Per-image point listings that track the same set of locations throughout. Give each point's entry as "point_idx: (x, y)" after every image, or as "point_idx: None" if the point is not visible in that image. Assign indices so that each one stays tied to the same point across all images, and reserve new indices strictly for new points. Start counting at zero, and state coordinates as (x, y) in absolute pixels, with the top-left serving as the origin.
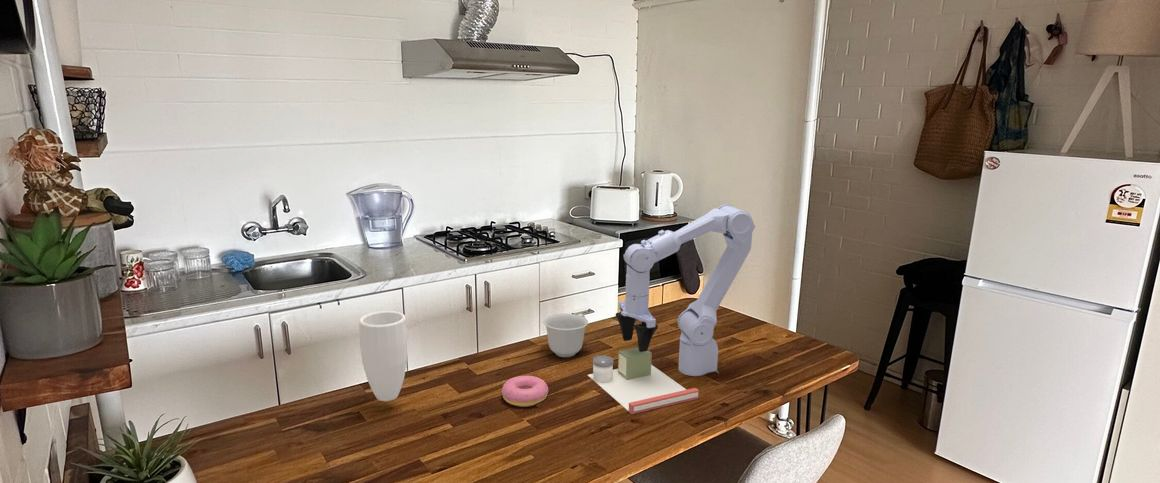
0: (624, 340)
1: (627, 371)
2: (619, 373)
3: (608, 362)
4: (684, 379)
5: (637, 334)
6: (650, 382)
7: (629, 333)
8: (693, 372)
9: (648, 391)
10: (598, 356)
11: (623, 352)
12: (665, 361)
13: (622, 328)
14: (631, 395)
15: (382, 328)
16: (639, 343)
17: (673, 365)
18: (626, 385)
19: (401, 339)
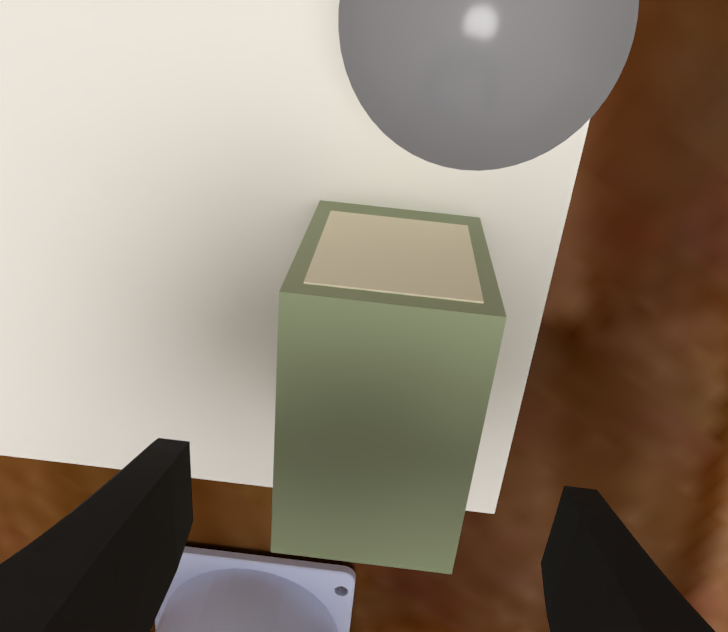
0: (567, 489)
1: (306, 232)
2: (451, 217)
3: (356, 31)
4: (194, 538)
5: (20, 621)
6: (197, 333)
7: (572, 621)
8: (166, 613)
9: (61, 227)
10: (612, 23)
11: (434, 339)
12: (475, 604)
13: (644, 627)
14: (31, 50)
15: None
16: (82, 508)
17: (397, 603)
18: (227, 133)
19: None
